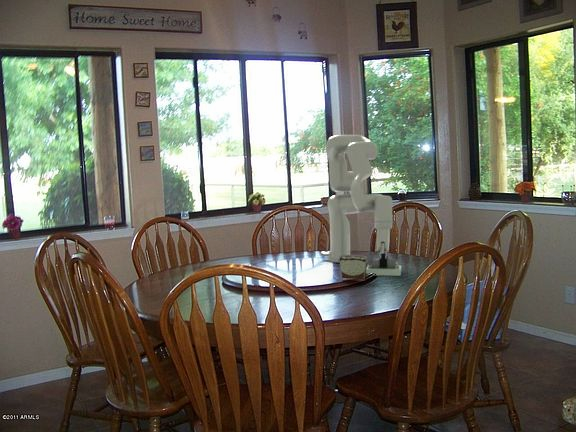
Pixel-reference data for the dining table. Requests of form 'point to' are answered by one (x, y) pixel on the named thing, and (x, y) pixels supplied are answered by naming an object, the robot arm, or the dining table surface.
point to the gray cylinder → (390, 263)
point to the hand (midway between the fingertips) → (383, 266)
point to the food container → (353, 266)
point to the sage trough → (385, 271)
